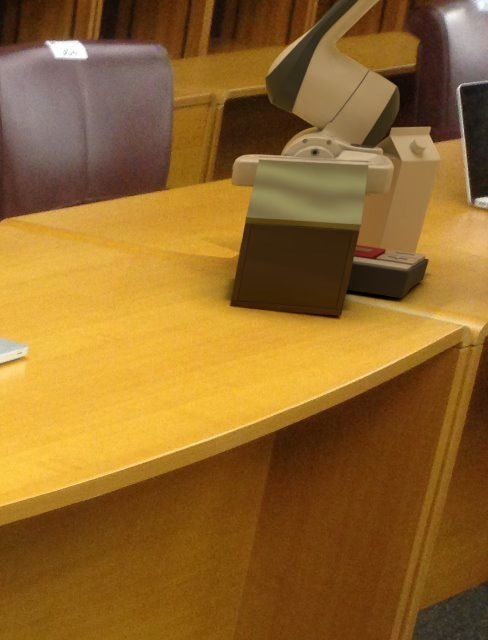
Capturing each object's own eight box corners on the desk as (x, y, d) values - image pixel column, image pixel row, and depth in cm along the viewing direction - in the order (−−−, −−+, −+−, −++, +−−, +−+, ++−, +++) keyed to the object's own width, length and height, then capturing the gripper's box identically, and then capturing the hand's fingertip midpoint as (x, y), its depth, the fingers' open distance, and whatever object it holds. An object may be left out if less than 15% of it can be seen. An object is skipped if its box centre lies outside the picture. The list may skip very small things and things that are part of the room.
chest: (235, 286, 214) (249, 207, 210) (341, 295, 209) (358, 214, 205) (229, 306, 203) (244, 223, 198) (341, 316, 198) (359, 230, 193)
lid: (258, 164, 209) (259, 159, 208) (367, 170, 204) (368, 164, 203) (245, 222, 198) (246, 217, 198) (359, 230, 194) (361, 224, 193)
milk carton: (340, 254, 234) (373, 124, 225) (378, 252, 236) (412, 123, 227) (374, 265, 228) (410, 131, 219) (413, 263, 230) (449, 130, 221)
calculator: (431, 253, 216) (410, 266, 205) (422, 284, 218) (401, 298, 207) (349, 241, 222) (324, 253, 211) (341, 271, 224) (316, 284, 213)
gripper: (237, 141, 219) (231, 153, 208) (395, 148, 211) (398, 161, 200) (229, 186, 222) (223, 201, 210) (384, 195, 214) (387, 210, 203)
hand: (310, 181), depth 205 cm, fingers closed, pressing on lid
